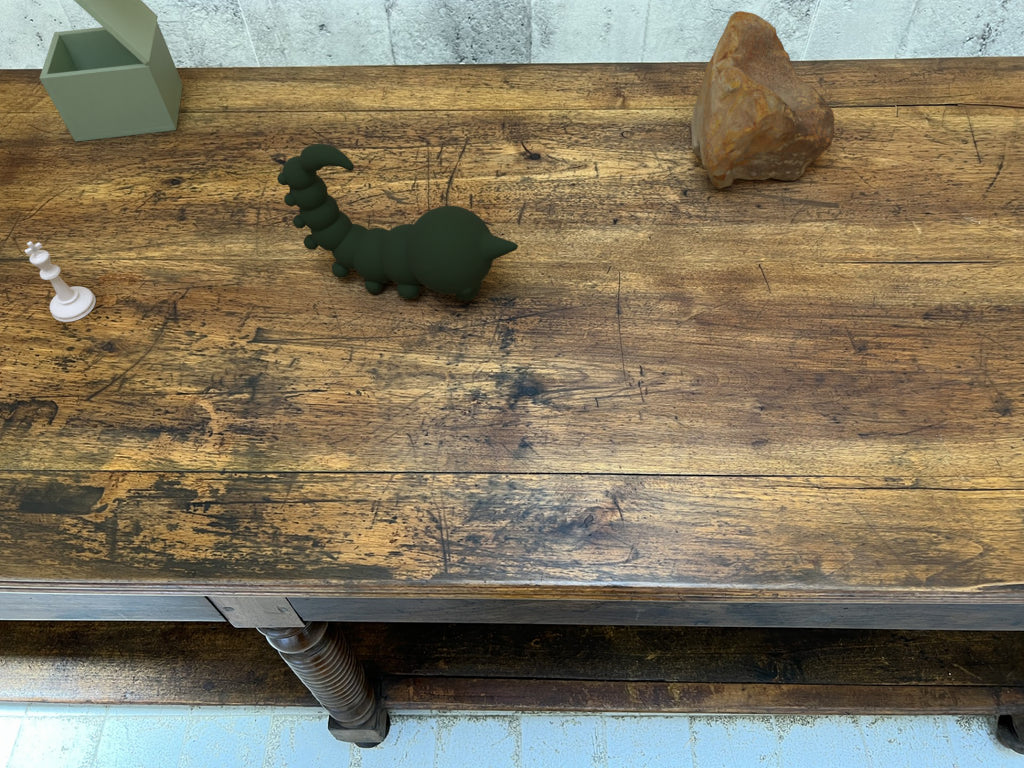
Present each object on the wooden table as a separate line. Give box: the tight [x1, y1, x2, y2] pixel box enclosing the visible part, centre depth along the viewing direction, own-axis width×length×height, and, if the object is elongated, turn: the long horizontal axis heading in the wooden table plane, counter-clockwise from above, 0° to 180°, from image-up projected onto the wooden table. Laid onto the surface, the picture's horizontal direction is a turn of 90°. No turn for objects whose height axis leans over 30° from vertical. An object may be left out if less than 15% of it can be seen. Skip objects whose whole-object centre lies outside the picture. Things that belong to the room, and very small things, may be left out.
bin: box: [39, 21, 184, 143], centre depth 111 cm, size 14×11×10 cm
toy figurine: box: [276, 143, 519, 302], centre depth 87 cm, size 9×19×25 cm
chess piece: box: [24, 240, 97, 323], centre depth 90 cm, size 5×5×10 cm
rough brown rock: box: [690, 10, 835, 189], centre depth 100 cm, size 23×17×15 cm
